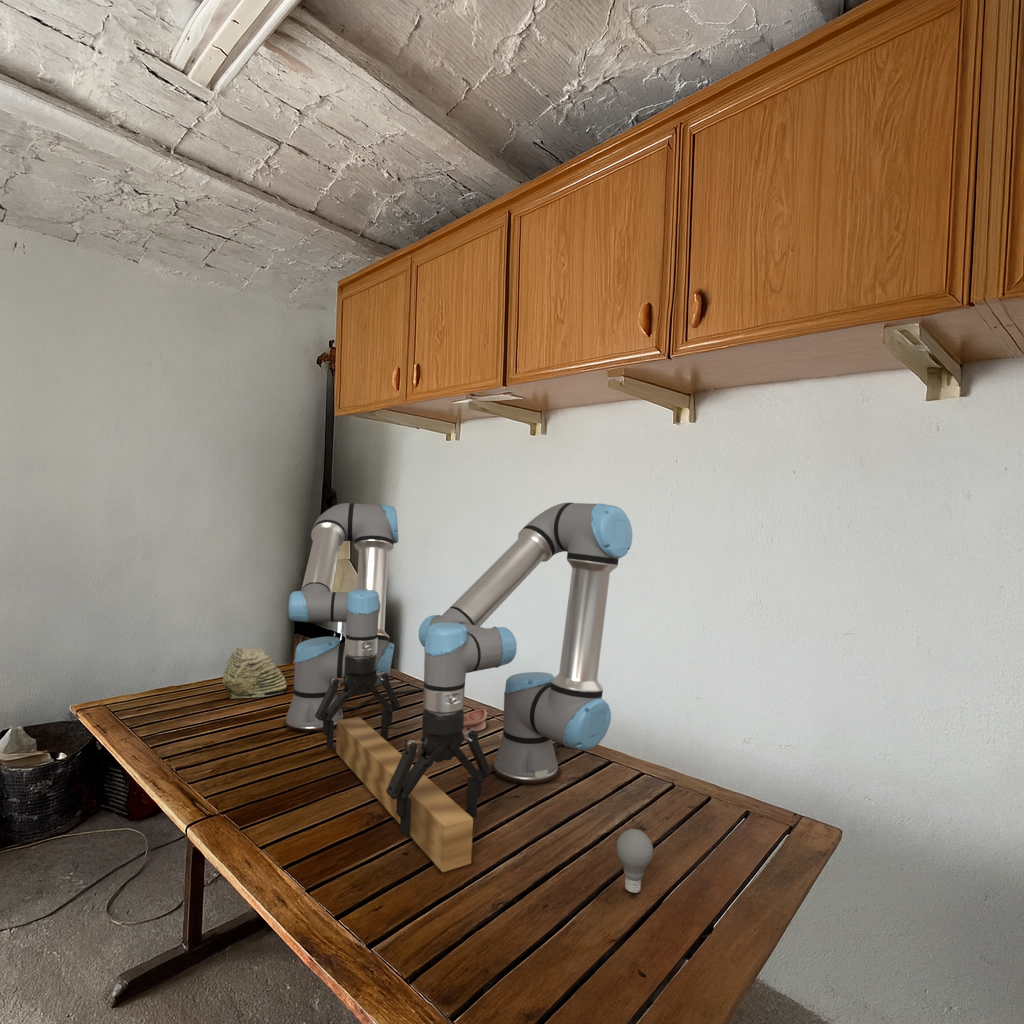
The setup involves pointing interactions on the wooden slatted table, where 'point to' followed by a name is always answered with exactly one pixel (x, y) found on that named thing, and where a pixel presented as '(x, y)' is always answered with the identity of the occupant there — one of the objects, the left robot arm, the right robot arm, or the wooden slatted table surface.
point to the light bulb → (634, 857)
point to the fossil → (252, 674)
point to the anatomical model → (475, 720)
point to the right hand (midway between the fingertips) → (439, 823)
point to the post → (432, 811)
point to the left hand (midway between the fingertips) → (357, 742)
